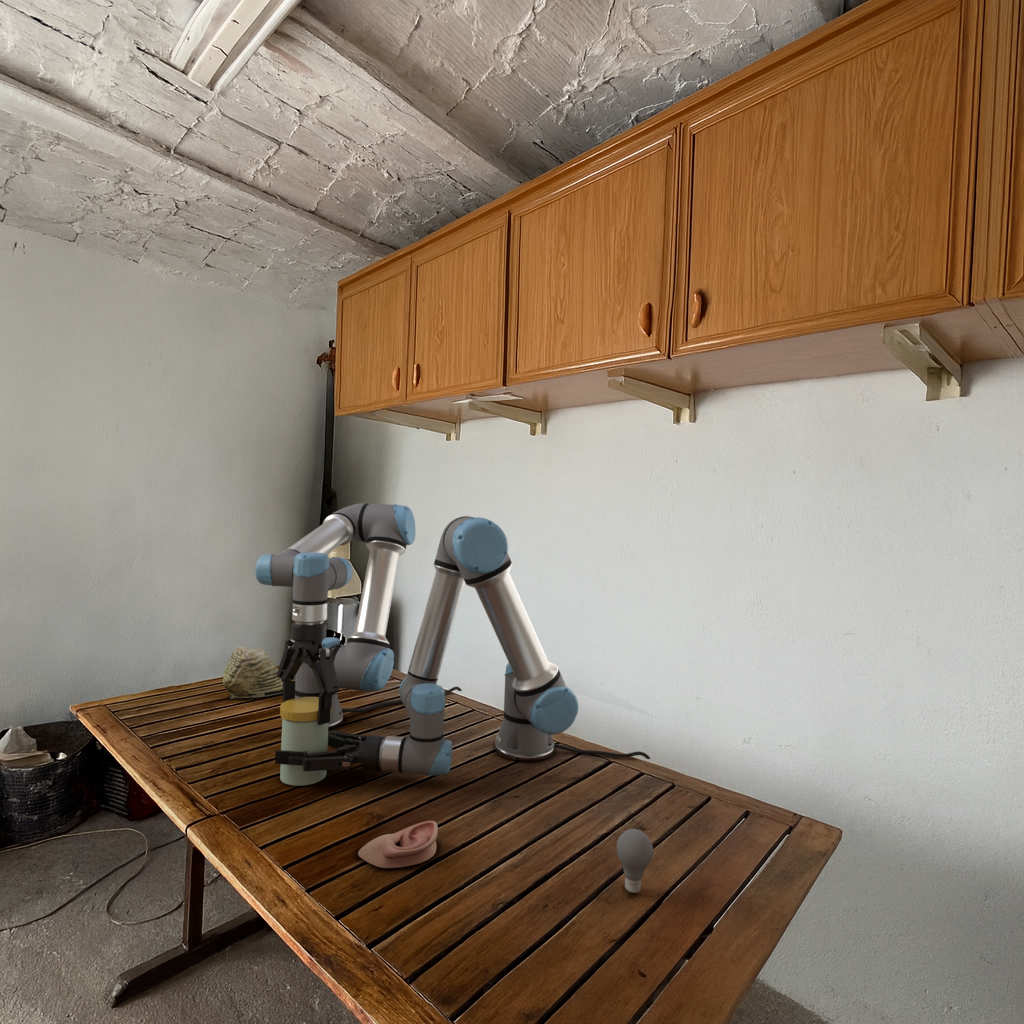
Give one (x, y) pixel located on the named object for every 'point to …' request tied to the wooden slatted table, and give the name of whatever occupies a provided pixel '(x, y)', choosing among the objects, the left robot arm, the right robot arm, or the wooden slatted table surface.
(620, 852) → the light bulb
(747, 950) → the wooden slatted table surface
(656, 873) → the wooden slatted table surface
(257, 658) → the fossil
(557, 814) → the wooden slatted table surface
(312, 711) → the lid
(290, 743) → the jar
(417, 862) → the anatomical model
